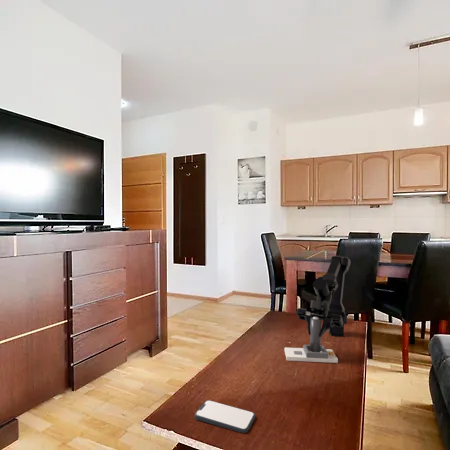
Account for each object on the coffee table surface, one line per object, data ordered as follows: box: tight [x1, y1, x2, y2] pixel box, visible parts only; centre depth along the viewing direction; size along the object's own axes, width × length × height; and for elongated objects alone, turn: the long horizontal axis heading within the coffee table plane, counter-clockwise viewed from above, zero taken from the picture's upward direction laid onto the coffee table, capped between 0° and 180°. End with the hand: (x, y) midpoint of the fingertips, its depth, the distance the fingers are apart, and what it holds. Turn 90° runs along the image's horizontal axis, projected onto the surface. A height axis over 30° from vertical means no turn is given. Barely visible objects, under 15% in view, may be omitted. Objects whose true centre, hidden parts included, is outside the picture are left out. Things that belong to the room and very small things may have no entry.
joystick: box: [309, 317, 322, 352], centre depth 132 cm, size 4×4×14 cm
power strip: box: [284, 344, 339, 364], centre depth 133 cm, size 20×10×4 cm, turn 85°
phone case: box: [194, 399, 256, 434], centre depth 91 cm, size 9×2×16 cm
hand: (314, 335), depth 131 cm, fingers closed on joystick, 4 cm apart
